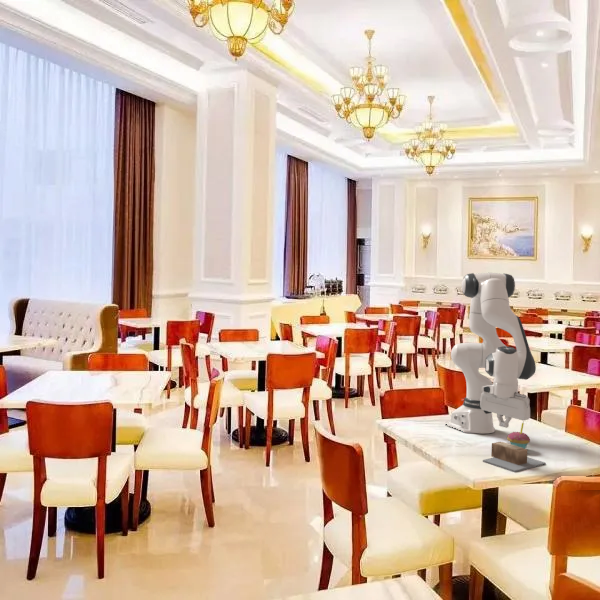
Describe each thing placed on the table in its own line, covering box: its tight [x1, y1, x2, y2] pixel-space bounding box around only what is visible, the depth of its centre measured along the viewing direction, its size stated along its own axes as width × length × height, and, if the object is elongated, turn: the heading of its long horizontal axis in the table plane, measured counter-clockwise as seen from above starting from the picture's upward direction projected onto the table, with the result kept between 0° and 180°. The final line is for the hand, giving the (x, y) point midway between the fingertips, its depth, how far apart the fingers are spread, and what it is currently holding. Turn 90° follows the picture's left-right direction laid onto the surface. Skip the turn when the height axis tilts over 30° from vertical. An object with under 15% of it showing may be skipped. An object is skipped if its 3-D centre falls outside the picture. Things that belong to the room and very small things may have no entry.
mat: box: [482, 456, 547, 473], centre depth 224 cm, size 14×18×1 cm
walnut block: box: [491, 441, 529, 465], centre depth 226 cm, size 5×5×12 cm
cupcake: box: [506, 420, 531, 449], centre depth 241 cm, size 9×8×12 cm
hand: (503, 426), depth 229 cm, fingers closed
